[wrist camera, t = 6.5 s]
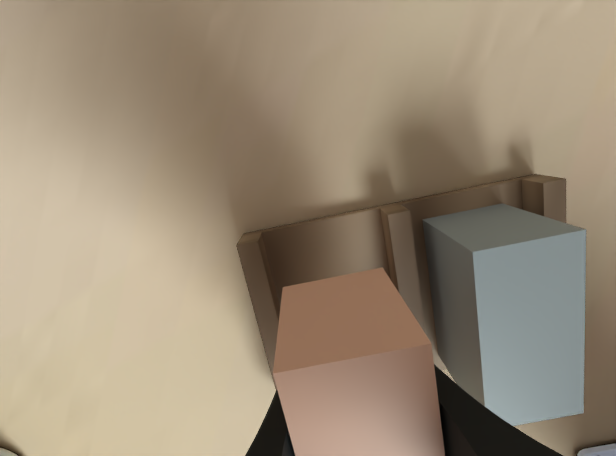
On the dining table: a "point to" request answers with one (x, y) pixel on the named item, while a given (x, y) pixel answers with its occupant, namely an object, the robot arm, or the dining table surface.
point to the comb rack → (375, 247)
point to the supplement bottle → (6, 452)
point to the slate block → (510, 309)
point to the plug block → (355, 370)
